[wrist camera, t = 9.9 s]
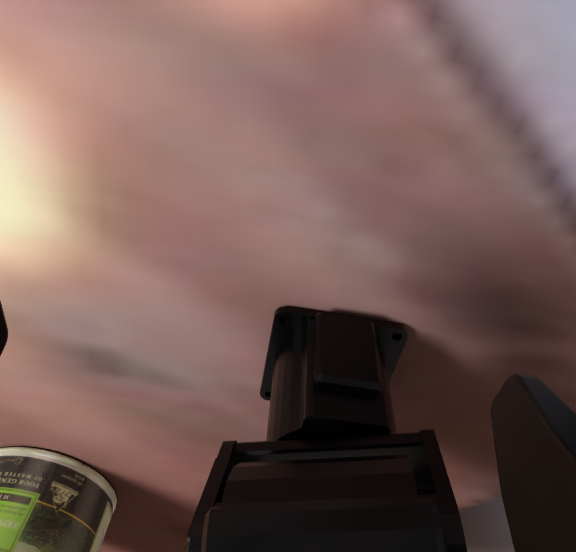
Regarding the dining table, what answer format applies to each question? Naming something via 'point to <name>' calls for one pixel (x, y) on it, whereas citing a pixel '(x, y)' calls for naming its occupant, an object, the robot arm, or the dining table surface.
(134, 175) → the dining table surface
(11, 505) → the coffee can
